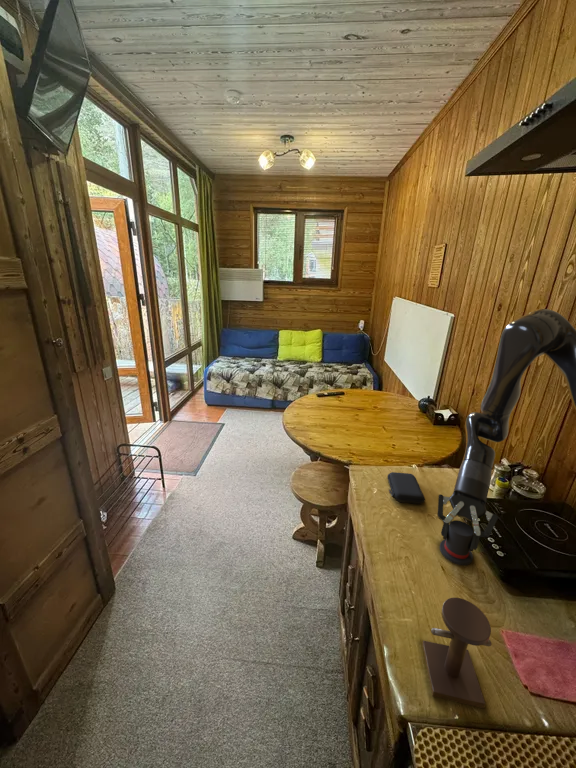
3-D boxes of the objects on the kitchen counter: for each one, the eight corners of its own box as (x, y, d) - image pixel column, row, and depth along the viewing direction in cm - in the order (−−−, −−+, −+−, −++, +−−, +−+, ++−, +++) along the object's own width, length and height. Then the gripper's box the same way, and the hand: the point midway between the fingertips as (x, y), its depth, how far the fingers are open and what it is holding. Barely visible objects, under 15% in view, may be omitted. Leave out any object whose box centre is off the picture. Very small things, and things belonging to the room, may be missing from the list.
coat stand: (470, 654, 58) (487, 600, 53) (488, 709, 50) (509, 651, 46) (418, 643, 59) (429, 589, 55) (427, 695, 52) (442, 637, 47)
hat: (472, 549, 81) (479, 524, 79) (472, 570, 75) (478, 544, 72) (441, 537, 85) (446, 513, 82) (437, 556, 78) (443, 531, 76)
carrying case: (383, 476, 111) (390, 503, 97) (384, 469, 110) (391, 495, 96) (413, 479, 110) (425, 507, 96) (414, 471, 109) (427, 499, 95)
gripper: (443, 467, 84) (426, 529, 78) (507, 487, 76) (492, 558, 70) (444, 475, 89) (428, 533, 84) (503, 494, 81) (489, 560, 76)
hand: (457, 544), depth 77 cm, fingers closed on hat, 5 cm apart
